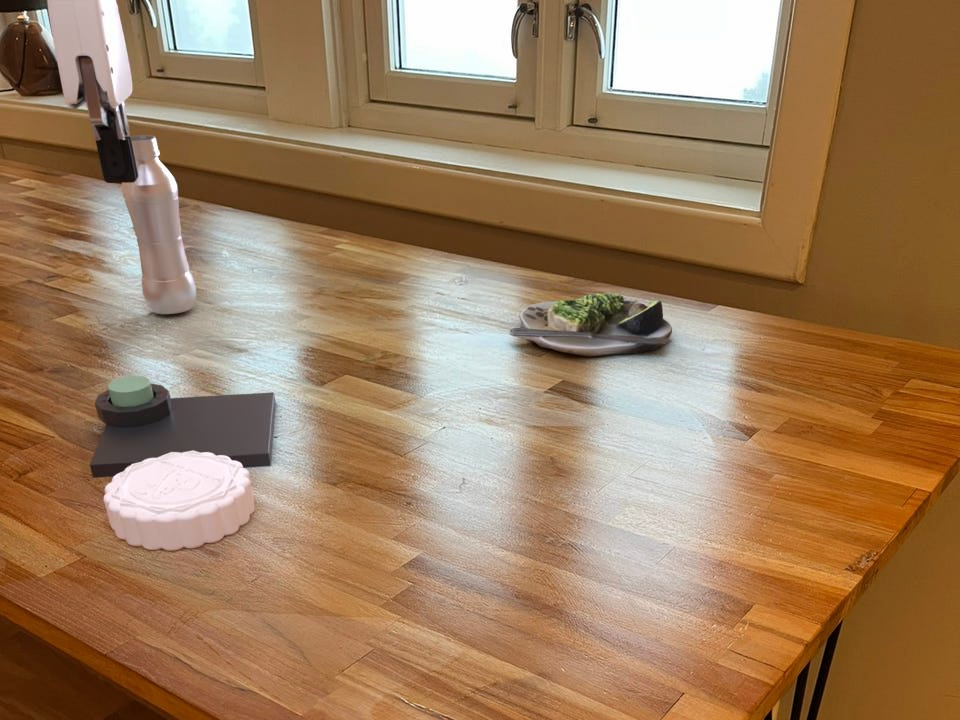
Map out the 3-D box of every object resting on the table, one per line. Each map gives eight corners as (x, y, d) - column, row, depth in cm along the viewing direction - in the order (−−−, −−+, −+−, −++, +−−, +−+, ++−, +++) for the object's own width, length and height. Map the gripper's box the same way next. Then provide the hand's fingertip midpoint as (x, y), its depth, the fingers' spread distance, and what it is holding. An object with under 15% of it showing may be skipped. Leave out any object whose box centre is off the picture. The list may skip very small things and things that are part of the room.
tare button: (108, 410, 93) (104, 393, 92) (115, 393, 96) (111, 376, 95) (151, 407, 94) (147, 390, 93) (156, 391, 97) (152, 374, 96)
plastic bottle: (136, 316, 122) (97, 141, 110) (171, 300, 127) (137, 131, 115) (176, 323, 120) (141, 145, 108) (210, 306, 125) (180, 135, 112)
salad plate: (530, 373, 107) (531, 332, 104) (487, 319, 120) (487, 281, 118) (691, 355, 111) (696, 315, 108) (631, 305, 124) (635, 268, 121)
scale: (82, 479, 88) (73, 449, 86) (109, 412, 99) (102, 385, 97) (270, 466, 89) (266, 437, 88) (276, 402, 101) (272, 375, 99)
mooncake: (80, 527, 81) (69, 489, 79) (184, 470, 89) (177, 434, 87) (183, 568, 76) (174, 529, 74) (284, 503, 84) (278, 466, 82)
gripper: (55, -38, 95) (100, 166, 106) (12, -30, 83) (68, 199, 94) (133, -39, 95) (169, 164, 106) (102, -30, 83) (146, 197, 95)
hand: (122, 180), depth 100 cm, fingers closed
